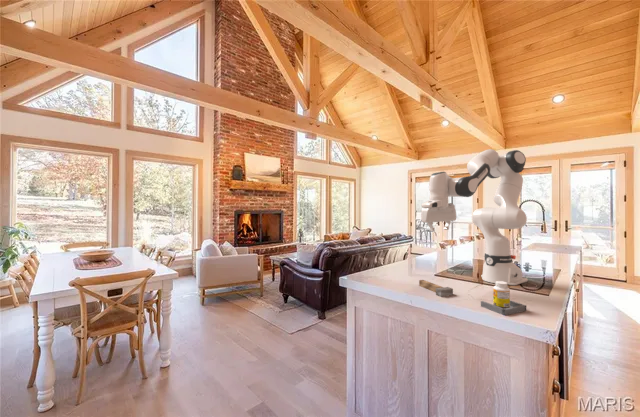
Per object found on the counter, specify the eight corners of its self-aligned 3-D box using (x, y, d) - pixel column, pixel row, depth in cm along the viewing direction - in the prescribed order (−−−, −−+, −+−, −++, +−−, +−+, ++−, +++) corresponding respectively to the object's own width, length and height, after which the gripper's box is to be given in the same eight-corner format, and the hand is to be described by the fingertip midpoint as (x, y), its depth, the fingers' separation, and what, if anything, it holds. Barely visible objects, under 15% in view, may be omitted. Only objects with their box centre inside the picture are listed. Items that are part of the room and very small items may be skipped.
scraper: (415, 286, 141) (415, 280, 141) (426, 285, 144) (426, 279, 144) (440, 297, 125) (440, 290, 125) (452, 295, 128) (452, 288, 128)
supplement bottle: (494, 304, 116) (494, 279, 115) (510, 307, 112) (510, 281, 112) (492, 308, 111) (492, 282, 111) (508, 311, 108) (509, 285, 108)
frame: (501, 302, 118) (501, 297, 118) (526, 310, 108) (526, 305, 108) (480, 306, 114) (480, 301, 114) (504, 315, 104) (504, 310, 104)
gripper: (449, 202, 150) (450, 228, 151) (418, 204, 143) (419, 231, 143) (459, 202, 144) (459, 229, 145) (427, 204, 137) (428, 232, 137)
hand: (439, 230), depth 144 cm, fingers open, 8 cm apart
